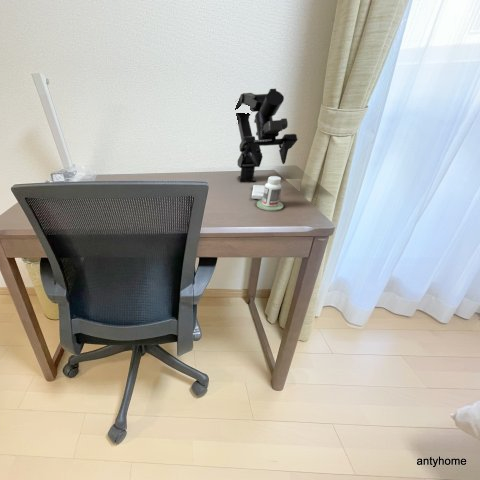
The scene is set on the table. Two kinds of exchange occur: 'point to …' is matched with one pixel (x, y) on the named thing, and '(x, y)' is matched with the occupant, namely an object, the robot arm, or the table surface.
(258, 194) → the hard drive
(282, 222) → the table surface
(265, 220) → the table surface
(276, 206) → the coaster
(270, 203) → the pill bottle
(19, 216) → the table surface
